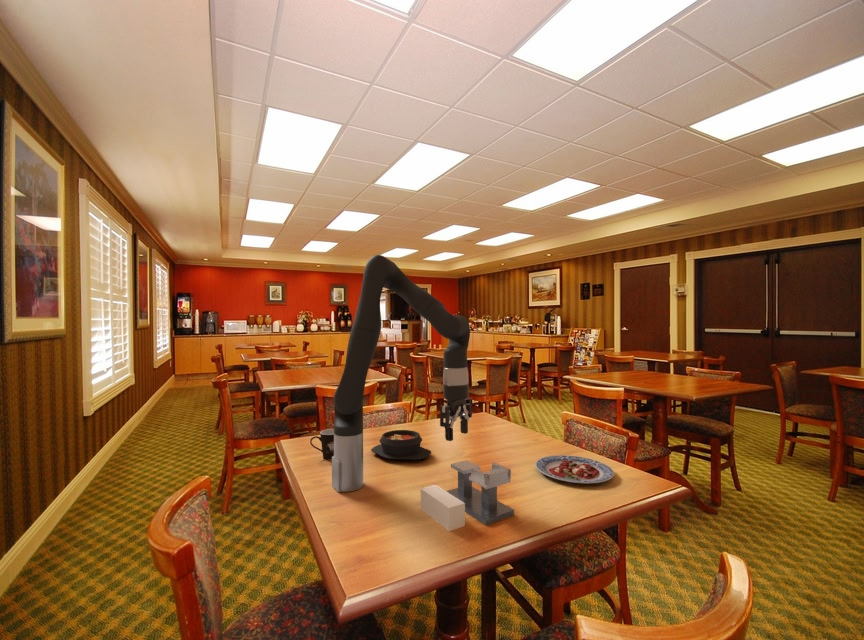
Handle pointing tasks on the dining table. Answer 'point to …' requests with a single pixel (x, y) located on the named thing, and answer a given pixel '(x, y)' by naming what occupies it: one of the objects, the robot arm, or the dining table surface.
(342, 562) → the dining table surface
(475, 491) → the stand
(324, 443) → the coffee mug
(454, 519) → the white rectangular block
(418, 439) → the casserole
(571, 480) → the ceramic plate
